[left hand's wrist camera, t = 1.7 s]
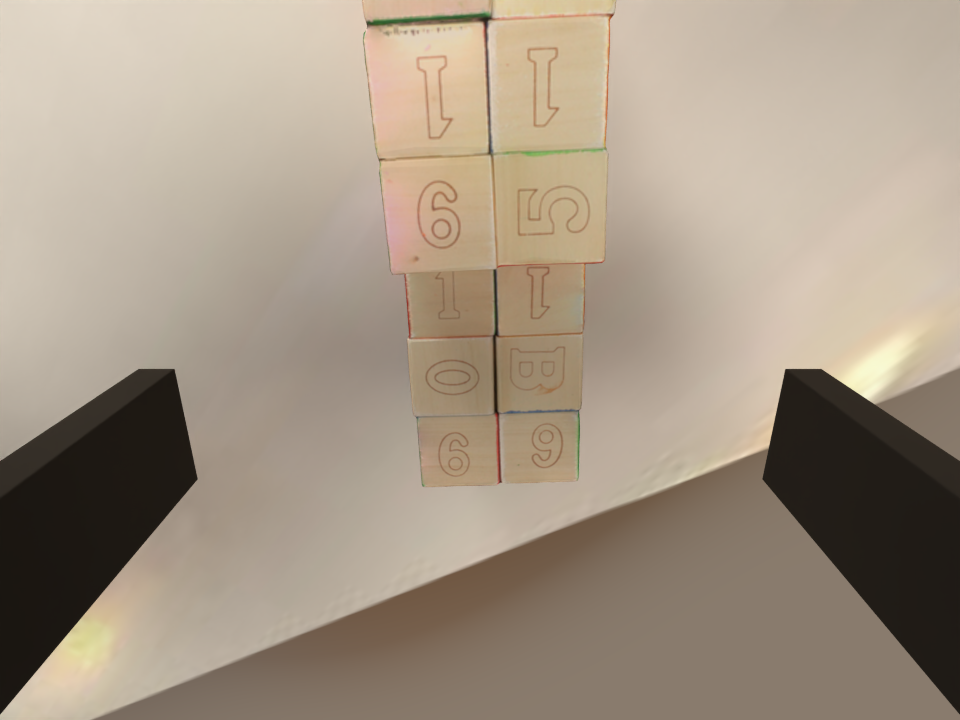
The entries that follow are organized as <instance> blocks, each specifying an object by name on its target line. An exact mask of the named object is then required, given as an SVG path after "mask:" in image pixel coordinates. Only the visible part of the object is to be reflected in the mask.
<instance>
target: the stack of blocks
mask: <svg viewBox="0 0 960 720" xmlns="http://www.w3.org/2000/svg"><path fill="white" fill-rule="evenodd" d="M362 3H363V11H364V17H365V20H366V23H367V30H366V31H365V32H364V37H363V44H364V52H365V64H366V70H367V77H368V87H369V97H370V105H371V114H372V123H373V131H374V140H375V147H376V152H377V155H378V158H379V162H380V172H379V174H380V183H381V191H382V200H383V208H384V217H385V227H386V236H387V244H388V253H389V261H390V271H391V273H392V275H397V274H405V286H406V299H407V311H408V325H409V337H408V339H407V347H408V362H409V376H410V387H411V397H412V408H413V414H414V416H415V417H416V418H417V428H418V441H419V454H420V466H421V479H422V486H423V487H441V486H480V485H497V484H499V483H539V482H568V481H577V480H578V477H579V439H580V419H579V410H580V409H581V403H582V365H583V329H584V311H585V264H593V263H602V262H604V261H605V237H606V207H607V177H608V152H607V149H606V146H605V140H606V125H607V103H608V70H609V48H610V19H611V18H612V16H613V15H614V13H615V7H616V0H362Z"/></svg>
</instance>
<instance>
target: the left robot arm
mask: <svg viewBox="0 0 960 720" xmlns="http://www.w3.org/2000/svg"><path fill="white" fill-rule="evenodd" d="M196 480H197V474H196V469H195V465H194V460H193V455H192V450H191V446H190V441H189V436H188V431H187V426H186V422H185V417H184V412H183V407H182V403H181V398H180V393H179V388H178V384H177V379H176V374H175V369H138V370H137V371H135V372H134V373H132V374H131V375H129V376H128V377H126V378H125V379H123V380H122V381H120V382H119V383H117V384H116V385H114V386H113V387H111V388H110V389H108V390H107V391H105V392H104V393H102V394H101V395H99V396H98V397H96V398H95V399H93V400H92V401H90V402H88V403H87V404H85V405H84V406H82V407H81V408H79V409H78V410H76V411H75V412H73V413H72V414H70V415H69V416H67V417H66V418H64V419H63V420H61V421H60V422H58V423H57V424H55V425H54V426H52V427H51V428H49V429H48V430H46V431H45V432H43V433H42V434H40V435H39V436H37V437H36V438H34V439H33V440H31V441H30V442H28V443H27V444H25V445H24V446H22V447H21V448H19V449H18V450H16V451H15V452H13V453H12V454H10V455H9V456H7V457H6V458H4V459H3V460H1V461H0V714H1V713H2V712H3V710H4V709H5V708H6V707H7V706H8V705H9V703H10V702H11V701H12V700H13V699H14V697H15V696H16V695H17V694H18V693H19V691H20V690H21V689H22V688H23V687H24V685H25V684H26V683H27V682H28V681H29V679H30V678H31V677H32V676H33V675H34V674H35V672H36V671H37V670H38V669H39V668H40V666H41V665H42V664H43V663H44V662H45V660H46V659H47V658H48V657H49V656H50V654H51V653H52V652H53V651H54V650H55V648H56V647H57V646H58V645H59V644H60V643H61V641H62V640H63V639H64V638H65V637H66V635H67V634H68V633H69V632H70V631H71V629H72V628H73V627H74V626H75V625H76V623H77V622H78V621H79V620H80V619H81V617H82V616H83V615H84V614H85V613H86V612H87V610H88V609H89V608H90V607H91V606H92V604H93V603H94V602H95V601H96V600H97V598H98V597H99V596H100V595H101V594H102V592H103V591H104V590H105V589H106V588H107V586H108V585H109V584H110V583H111V582H112V581H113V579H114V578H115V577H116V576H117V575H118V573H119V572H120V571H121V570H122V569H123V567H124V566H125V565H126V564H127V563H128V561H129V560H130V559H131V558H132V557H133V555H134V554H135V553H136V552H137V551H138V550H139V548H140V547H141V546H142V545H143V544H144V542H145V541H146V540H147V539H148V538H149V536H150V535H151V534H152V533H153V532H154V530H155V529H156V528H157V527H158V526H159V524H160V523H161V522H162V521H163V520H164V519H165V517H166V516H167V515H168V514H169V513H170V511H171V510H172V509H173V508H174V507H175V505H176V504H177V503H178V502H179V501H180V499H181V498H182V497H183V496H184V495H185V493H186V492H187V491H188V490H189V489H190V488H191V486H192V485H193V484H194V483H195V482H196ZM763 480H764V482H765V483H766V484H767V485H768V486H769V487H770V489H771V490H772V491H773V492H774V493H775V495H776V496H777V497H778V498H779V499H780V501H781V502H782V503H783V504H784V505H785V507H786V508H787V509H788V510H789V511H790V512H791V514H792V515H793V516H794V517H795V519H796V520H797V521H798V522H799V523H800V524H801V526H802V527H803V528H804V529H805V530H806V532H807V533H808V534H809V535H810V536H811V538H812V539H813V540H814V541H815V542H816V544H817V545H818V546H819V547H820V548H821V550H822V551H823V552H824V553H825V554H826V555H827V557H828V558H829V559H830V560H831V561H832V563H833V564H834V565H835V566H836V567H837V569H838V570H839V571H840V572H841V573H842V575H843V576H844V577H845V578H846V579H847V581H848V582H849V583H850V584H851V585H852V586H853V588H854V589H855V590H856V591H857V592H858V594H859V595H860V596H861V597H862V598H863V600H864V601H865V602H866V603H867V604H868V605H869V607H870V608H871V609H872V610H873V612H874V613H875V614H876V615H877V616H878V617H879V619H880V620H881V621H882V622H883V623H884V625H885V626H886V627H887V628H888V629H889V631H890V632H891V633H892V634H893V635H894V637H895V638H896V639H897V640H898V641H899V643H900V644H901V645H902V646H903V647H904V648H905V650H906V651H907V652H908V653H909V654H910V656H911V657H912V658H913V659H914V660H915V662H916V663H917V664H918V665H919V666H920V668H921V669H922V670H923V671H924V672H925V674H926V675H927V676H928V677H929V678H930V679H931V681H932V682H933V683H934V684H935V685H936V687H937V688H938V689H939V690H940V691H941V693H942V694H943V695H944V696H945V697H946V699H947V700H948V701H949V702H950V703H951V704H952V706H953V707H954V708H955V709H956V710H957V712H958V713H959V714H960V461H959V460H957V459H956V458H954V457H953V456H951V455H950V454H948V453H947V452H945V451H944V450H942V449H941V448H939V447H938V446H936V445H935V444H933V443H932V442H930V441H929V440H927V439H926V438H924V437H923V436H921V435H920V434H918V433H917V432H915V431H914V430H912V429H911V428H909V427H908V426H906V425H905V424H903V423H902V422H900V421H899V420H897V419H896V418H894V417H893V416H891V415H889V414H888V413H886V412H885V411H884V410H882V409H880V408H879V407H877V406H876V405H875V404H873V403H872V402H870V401H868V400H867V399H865V398H864V397H862V396H861V395H859V394H858V393H856V392H855V391H853V390H852V389H850V388H849V387H847V386H846V385H844V384H843V383H841V382H840V381H838V380H837V379H835V378H834V377H832V376H831V375H829V374H828V373H826V372H825V371H823V370H822V369H785V374H784V379H783V384H782V388H781V393H780V398H779V403H778V407H777V412H776V417H775V422H774V426H773V431H772V436H771V441H770V446H769V450H768V455H767V460H766V465H765V469H764V474H763Z"/></svg>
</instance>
